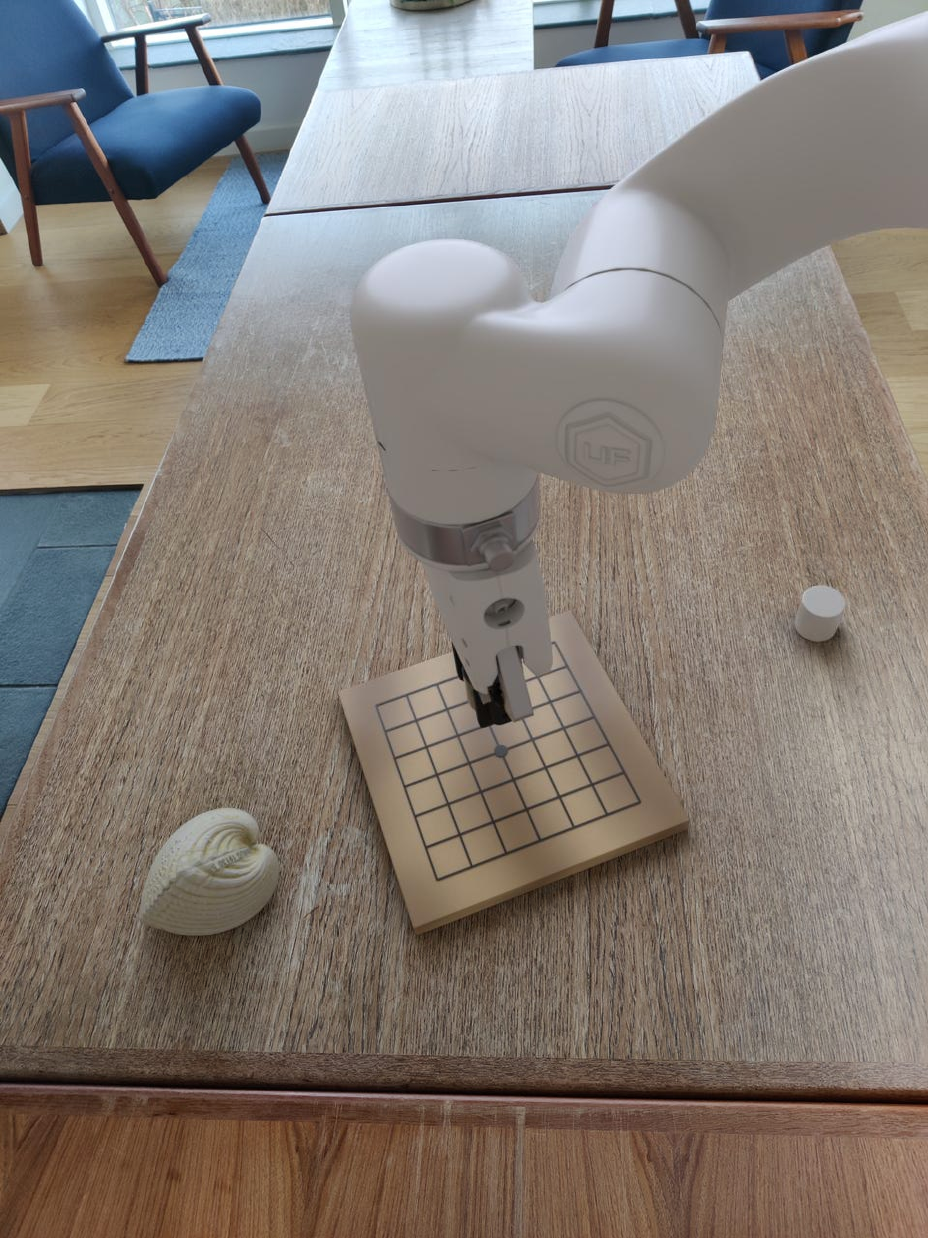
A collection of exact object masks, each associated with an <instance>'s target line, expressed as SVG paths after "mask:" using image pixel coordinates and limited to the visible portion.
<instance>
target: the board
mask: <svg viewBox="0 0 928 1238" xmlns="http://www.w3.org/2000/svg"><path fill="white" fill-rule="evenodd" d="M549 624H550V633H551V643H552V653H553V664H552V668H551V670H550V672H548V673H546V674H544V675H542V676H539V677H536V676H535V675H534V674H533V673H532V672H531V671H530V670H529V669H528V668H527V667H526V666H525V665H524V663H523V659H522V665H523V673H524V677H525V681H526V685H527V689H528V693H529V697H530V701H531V705H532V709H533V713H534V716H531V717H529V718H526V719H523V720H520V721H518V722H515V723H513V721H511V722H509V723H506V724H504V725H495V724H494V725H491V726H489V727H486V728H481V727H480V725H479V723H478V721H477V716H476V711H475V710H474V709H473V708H472V707H471V706H470V705H469V703H468V701H467V696H466V690H465V684H464V682H463V681H461V680H460V679H459V677H458V675H457V671H456V665H455V660H454V654H453V650H452V651H450V652H447V653H444V654H442V655H439V656H435V657H432V658H429V659H427V660H424V661H421V662H419V663H418V662H417V663H416V664H413V665H410V666H406V667H405V668H404V667H403V668H401V669H398V670H396V671H393V672H390V673H388V674H384V675H382V676H378V677H376V678H373V679H369V680H367V681H365V682H361V683H358V684H356V685H353V686H350V687H347V688H344V689H341V690H339V691H337V695H338V698H339V701H340V704H341V707H342V711H343V714H344V718H345V720H346V723H347V726H348V729H349V732H350V735H351V739H352V742H353V744H354V748H355V751H356V754H357V757H358V760H359V763H360V768H361V770H362V772H363V776H364V779H365V782H366V785H367V788H368V792H369V794H370V797H371V798H370V799H371V801H372V804H373V807H374V810H375V813H376V816H377V820H378V822H379V826H380V829H381V832H382V835H383V838H384V841H385V842H384V843H385V844H386V848H387V851H388V854H389V858H390V860H391V863H392V867H393V869H394V872H395V875H396V879H397V882H398V885H399V888H400V891H401V895H402V897H403V900H404V904H405V907H406V910H407V913H408V916H409V919H410V922H411V926H412V928H413V931H414V934H415V935H416V936H420V935H422V934H425V933H427V932H430V931H432V930H435V929H437V928H440V927H443V926H445V925H447V924H450V923H453V922H456V921H458V920H461V919H463V918H466V917H468V916H471V915H474V914H477V913H479V912H480V911H483V910H486V909H489V908H491V907H494V906H496V905H499V904H501V903H505V902H506V901H509V900H511V899H514V898H517V897H519V896H522V895H524V894H526V893H529V892H533V891H534V890H537V889H539V888H542V887H544V886H548V885H551V884H552V883H554V882H557V881H560V880H562V879H565V878H568V877H570V876H573V875H575V874H578V873H581V872H582V871H585V870H588V869H590V868H592V867H595V866H598V865H600V864H603V863H605V862H608V861H610V860H613V859H616V858H619V857H621V856H623V855H626V854H628V853H629V854H630V853H631V852H633V851H636V850H638V849H641V848H644V847H647V846H649V845H651V844H654V843H656V842H659V841H661V840H664V839H667V838H669V837H673V836H675V835H677V834H679V833H682V832H684V831H687V830H689V825H690V818H689V816H688V814H687V812H686V810H685V809H684V807H683V806H682V803H681V802H680V800H679V799H678V796H677V795H676V793H675V792H674V790H673V787H671V784H670V782H669V781H668V779H667V777H666V776H665V773H664V771H662V769H661V766H660V765H659V763H658V761H657V760H656V758H655V756H654V754H653V752H652V750H651V749H650V747H649V745H648V743H647V742H646V740H645V739H644V736H643V734H642V733H641V732H640V730H639V728H638V726H637V724H636V722H635V721H634V719H633V717H632V715H631V713H630V712H629V710H628V708H627V706H626V704H625V703H624V701H623V699H622V697H621V696H620V694H619V693H618V691H617V689H616V687H615V685H614V684H613V682H612V680H611V679H610V676H609V675H608V673H607V671H606V669H605V668H604V666H603V665H602V663H601V661H600V658H599V657H598V656H597V654H596V652H595V650H594V648H593V646H592V644H591V643H590V641H589V640H588V638H587V636H586V634H585V633H584V631H583V629H582V627H581V625H580V624H579V622H578V620H577V618H576V617H575V615H574V613H573V611H572V610H571V609H570V610H567V611H563V612H561V613H558V614H556V615H555V614H554V615H552V616H549Z"/></svg>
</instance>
